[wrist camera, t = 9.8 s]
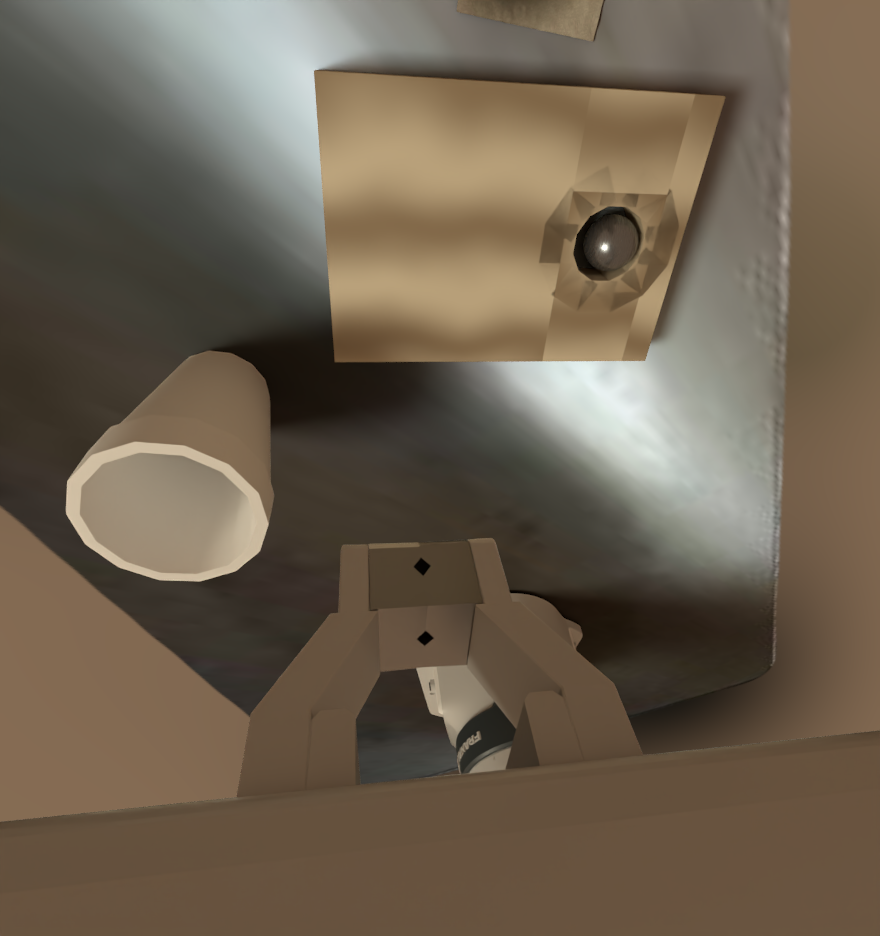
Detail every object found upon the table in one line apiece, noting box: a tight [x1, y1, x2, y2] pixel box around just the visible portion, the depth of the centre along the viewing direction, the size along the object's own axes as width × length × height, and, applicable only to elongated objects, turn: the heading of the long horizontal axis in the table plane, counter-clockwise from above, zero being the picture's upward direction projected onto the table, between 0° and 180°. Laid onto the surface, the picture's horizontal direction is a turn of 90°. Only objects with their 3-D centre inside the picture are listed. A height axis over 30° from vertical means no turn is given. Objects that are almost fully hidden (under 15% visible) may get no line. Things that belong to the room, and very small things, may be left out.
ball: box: [583, 214, 639, 271], centre depth 33 cm, size 3×3×3 cm
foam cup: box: [66, 351, 274, 581], centre depth 32 cm, size 10×9×13 cm
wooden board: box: [314, 70, 726, 362], centre depth 32 cm, size 15×21×2 cm
